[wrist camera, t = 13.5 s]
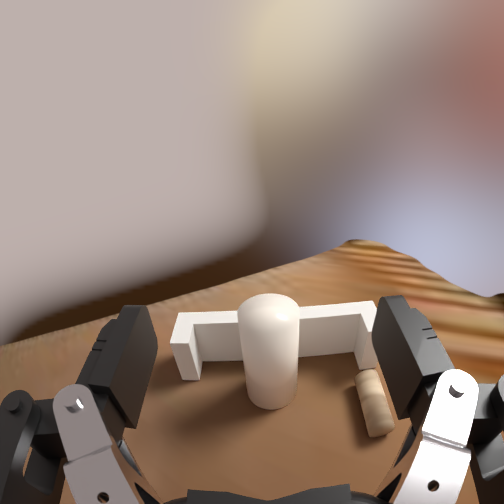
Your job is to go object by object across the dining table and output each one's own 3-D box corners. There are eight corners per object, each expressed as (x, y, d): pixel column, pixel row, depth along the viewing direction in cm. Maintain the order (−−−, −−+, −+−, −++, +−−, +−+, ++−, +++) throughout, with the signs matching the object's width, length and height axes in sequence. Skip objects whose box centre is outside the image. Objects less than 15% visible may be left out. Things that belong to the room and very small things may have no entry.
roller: (377, 439, 24) (363, 434, 24) (362, 387, 31) (349, 379, 30) (399, 426, 24) (387, 421, 23) (381, 374, 30) (369, 366, 29)
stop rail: (182, 380, 33) (169, 343, 30) (188, 349, 37) (178, 312, 34) (375, 367, 32) (386, 329, 29) (365, 338, 36) (372, 300, 34)
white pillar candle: (247, 410, 29) (235, 334, 24) (248, 373, 33) (238, 295, 28) (298, 407, 29) (303, 330, 23) (294, 370, 33) (296, 291, 28)
